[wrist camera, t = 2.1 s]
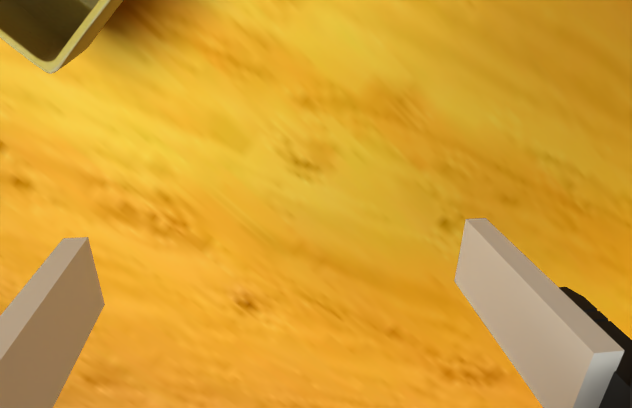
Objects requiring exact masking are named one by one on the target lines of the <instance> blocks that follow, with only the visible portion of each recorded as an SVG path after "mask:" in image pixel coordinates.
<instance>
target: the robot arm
mask: <svg viewBox="0 0 632 408" xmlns="http://www.w3.org/2000/svg"><path fill="white" fill-rule="evenodd" d="M455 283H456V284H457V286H458V287H459V289H460V290H461V291H462V293H463V294H464V296H465V297H466V298H467V300H468V301H469V303H470V304H471V306H472V307H473V308H474V310H475V311H476V313H477V314H478V316H479V317H480V318H481V320H482V321H483V323H484V324H485V325H486V327H487V328H488V330H489V331H490V333H491V334H492V335H493V337H494V338H495V340H496V341H497V343H498V344H499V345H500V347H501V348H502V350H503V351H504V352H505V354H506V355H507V357H508V358H509V360H510V361H511V362H512V364H513V365H514V367H515V368H516V370H517V371H518V372H519V374H520V375H521V377H522V378H523V379H524V381H525V382H526V384H527V385H528V387H529V388H530V389H531V391H532V392H533V394H534V395H535V397H536V398H537V399H538V401H539V402H540V404H541V405H542V406H543V408H632V340H631V339H630V338H628V337H627V336H626V335H625V334H624V333H623V332H622V331H621V330H620V329H619V328H617V327H616V326H615V325H614V324H613V323H612V322H611V321H608V318H606V317H605V316H604V315H603V314H602V313H601V312H600V311H597V309H596V308H595V307H594V306H593V305H592V304H591V303H590V302H589V301H588V300H587V299H585V298H584V297H583V296H581V295H579V294H578V293H576V292H574V291H572V290H571V289H569V288H567V287H559V288H558V287H557V286H556V285H555V284H554V283H553V282H552V281H551V280H550V279H549V278H548V277H547V276H546V275H545V274H544V273H543V272H542V271H541V270H540V269H538V268H537V267H536V266H535V265H534V264H533V263H532V262H531V261H530V260H529V259H528V258H527V257H526V256H525V255H524V254H523V253H522V252H521V251H520V250H519V249H517V248H516V247H515V246H514V245H513V244H512V243H511V242H510V241H509V240H508V239H507V238H506V237H505V236H504V235H503V234H502V233H501V232H500V231H499V230H497V229H496V228H495V227H494V226H493V225H492V224H491V223H490V222H489V221H488V220H487V219H486V218H479V219H466V221H465V226H464V232H463V237H462V243H461V248H460V253H459V259H458V264H457V270H456V275H455ZM104 305H105V304H104V300H103V296H102V292H101V288H100V284H99V280H98V276H97V272H96V268H95V264H94V260H93V256H92V252H91V248H90V244H89V240H88V237H85V238H64V239H63V240H62V241H61V242H60V243H59V244H58V246H57V247H56V248H55V249H54V251H53V252H52V253H51V254H50V256H49V257H48V258H47V259H46V260H45V262H44V263H43V264H42V265H41V267H40V268H39V269H38V270H37V272H36V273H35V274H34V275H33V276H32V278H31V279H30V280H29V281H28V283H27V284H26V285H25V286H24V288H23V289H22V290H21V291H20V292H19V294H18V295H17V296H16V297H15V299H14V300H13V301H12V302H11V304H10V305H9V306H8V307H7V308H6V310H5V311H4V312H3V313H2V315H1V316H0V408H53V406H54V404H55V402H56V400H57V398H58V396H59V394H60V392H61V390H62V388H63V386H64V384H65V382H66V380H67V378H68V376H69V374H70V372H71V370H72V368H73V366H74V364H75V362H76V360H77V358H78V356H79V354H80V352H81V350H82V348H83V346H84V344H85V342H86V340H87V338H88V336H89V334H90V332H91V330H92V328H93V326H94V324H95V322H96V320H97V319H98V317H99V315H100V313H101V311H102V309H103V307H104Z"/></svg>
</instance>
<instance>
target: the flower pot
mask: <svg viewBox="0 0 632 408" xmlns="http://www.w3.org/2000/svg"><path fill="white" fill-rule="evenodd" d="M122 2H123V0H0V38H1V39H3V40H4V41H5V42H6V43H8V44H9V45H10V46H11V47H13V48H14V49H15V50H17V51H18V52H19V53H21V54H22V55H23V56H25V57H26V58H27V59H28V60H30V61H31V62H32V63H34V64H35V65H36V66H38V67H39V68H41V69H42V70H44V71H45V72H47V73H54V72H56V71H58V70H59V69H60V68H62V67H63V66H64V65H66V64H67V63H69V62H70V61H71V60H73V59H74V58H75V57H77V56H78V55H79V54H80V53H82V52H83V51H84V50H85V49H86V48H87V47H88V46H89V45H90V44H91V42H92V41H93V40H94V38H95V37H96V36H97V34H98V33H99V32H100V30H101V29H102V28H103V26H104V25H105V24H106V22H107V21H108V20H109V18H110V17H111V16H112V14H113V13H114V12H115V11H116V9H117V8H118V7H119V5H120V4H121V3H122Z"/></svg>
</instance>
